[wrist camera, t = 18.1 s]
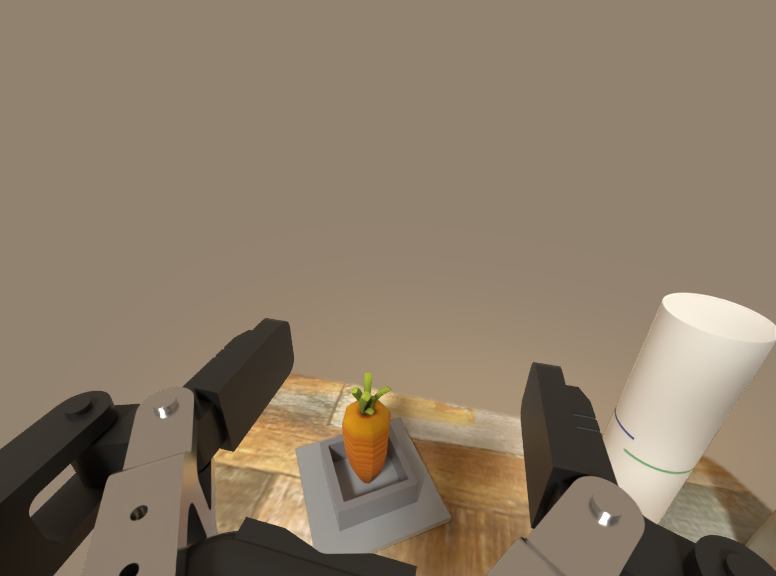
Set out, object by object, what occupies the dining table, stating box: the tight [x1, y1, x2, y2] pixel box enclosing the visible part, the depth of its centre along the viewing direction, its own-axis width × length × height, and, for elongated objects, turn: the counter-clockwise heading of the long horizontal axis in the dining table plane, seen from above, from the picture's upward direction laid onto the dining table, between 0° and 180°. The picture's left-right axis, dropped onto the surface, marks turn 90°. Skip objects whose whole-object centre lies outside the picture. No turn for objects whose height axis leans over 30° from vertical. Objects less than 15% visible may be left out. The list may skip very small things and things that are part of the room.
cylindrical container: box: [603, 293, 776, 524], centre depth 34 cm, size 7×7×25 cm
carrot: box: [342, 372, 391, 484], centre depth 38 cm, size 5×5×15 cm
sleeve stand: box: [296, 418, 451, 554], centre depth 41 cm, size 14×14×4 cm
